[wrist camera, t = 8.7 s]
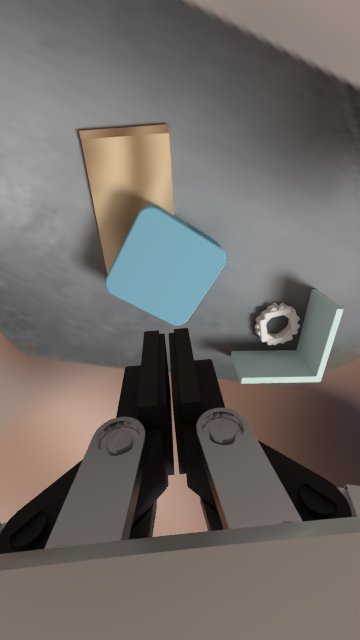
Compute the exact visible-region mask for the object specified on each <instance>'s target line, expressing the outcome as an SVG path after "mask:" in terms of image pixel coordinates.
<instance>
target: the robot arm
mask: <svg viewBox="0 0 360 640" xmlns="http://www.w3.org/2000/svg"><path fill="white" fill-rule="evenodd" d="M169 346H170V364H171V382H172V399H173V411H174V422H175V432H176V442H177V451H178V463H179V473H180V474H185V473H186V474H187V485H188V487H189V488H190V489H192V490H193V491H194V492H195V493H196V494H198V495H199V496H200V503H201V506H202V510H203V514H204V518H205V521H206V525H207V529H208V531H207V532H198V533H188V534H178V535H169V536H160V537H152V536H153V529H154V522H155V515H156V509H157V499H158V497H159V496H160V495H161V494H162V493H163V492H164V491H165V489H166V487H168V475H174V458H173V437H172V417H171V416H172V415H171V395H170V384H169V374H168V364H167V354H166V344H165V334H159V330H158V331H147V332H144V341H143V351H142V361H141V365H139V366H128V367H126V368H125V373H124V378H123V384H122V389H121V394H120V400H119V406H118V411H117V416H116V418H114V419H111V420H109V421H108V422H106V423H104V424H103V425H102V426H101V427H99V428H98V429H97V431H96V432H95V434H94V436H93V438H92V440H91V442H90V445H89V447H88V450H87V452H86V454H85V456H84V458H83V460H82V461H80V462H79V463H78V464H76V465H75V466H74V467H73V468H71V469H70V470H69V471H68V472H66V473H65V474H64V475H63V476H61V477H60V478H59V479H58V480H56V481H55V482H54V483H53V484H52V485H50V486H49V487H48V488H46V489H45V490H44V491H43V492H42V493H40V494H39V495H38V496H36V497H35V498H34V499H33V500H31V501H30V502H29V503H28V504H26V505H25V506H24V507H23V508H22V509H20V510H19V511H18V512H17V513H16V514H15V515H14V516H13V517H12V518H11V519H10V520H9V521H8V522H6V523H3V524H1V523H0V640H360V486H353V485H346V486H345V489H344V488H337V487H336V486H335V485H333V484H332V483H331V482H329V481H328V480H326V479H325V478H323V477H321V476H320V475H318V474H316V473H314V472H312V471H311V470H309V469H307V468H305V467H304V466H302V465H300V464H298V463H297V462H295V461H293V460H292V459H290V458H288V457H286V456H285V455H283V454H281V453H279V452H278V451H276V450H274V449H272V448H271V447H269V446H267V445H265V444H264V443H262V442H260V441H258V440H257V438H256V436H255V435H254V433H253V431H252V429H251V427H250V426H249V424H248V422H247V421H246V419H245V418H244V417H243V416H242V415H241V414H239V413H238V412H236V411H234V410H231V409H227V408H225V406H224V402H223V398H222V395H221V392H220V388H219V384H218V381H217V377H216V373H215V370H214V366H213V363H212V360H211V359H207V360H195V361H194V359H193V353H192V348H191V342H190V337H189V332H188V328H182V329H174V333H169Z"/></svg>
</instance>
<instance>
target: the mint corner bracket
mask: <svg viewBox="0 0 360 640" xmlns="http://www.w3.org/2000/svg"><path fill="white" fill-rule="evenodd" d="M342 313H343V308H342V307H340V306H339V305H338V304H336V303H335V302H334V301H332V300H331V299H330V298H328V297H327V296H326V295H324V294H323V293H321V292H320V291H319V290H317V289H312V291H311V295H310V299H309V303H308V307H307V311H306V315H305V319H304V323H303V327H302V330H301V334H300V338H299V342H298V346H297V350H274V351H232V352H231V358H232V360H233V363H234V366H235V368H236V371H237V374H238V377H239V379H240V382H241V384H242V383H243V384H244V383H291V382H320V381H321V379H322V376H323V373H324V369H325V366H326V363H327V360H328V357H329V354H330V350H331V347H332V344H333V341H334V338H335V335H336V332H337V328H338V325H339V322H340V319H341V316H342ZM281 315H284V316H286V317H287V318H288V325H287V326H286V327H285V328H284V329H283V330H282V331H280V332H279V333H278V334H275V333H269V332H268V331H267V327H266V323H267V322H268V321H269V320H270V319H271V318H273V317H277V316H281ZM255 320H256V322H257V324H256V325H255V329H256V331H255V333H257V334H258V335H259V336H260V340H261V341H262V342H267V345H275V346H276V345H277V343H282V344H284V343H285V342H286V341H290V340H292V339H293V338H292V335H294V334H297V333H298V331H297V329H298V328H299V327H300V325H299V324H298V323H297V322H298V321H299V320H300V318H299V317H298V316H297V315H296V311H295V309H293V307H292V306H288V305H285V304H284V303H283V302H282V303H281V304H280V305H279V306H278V304H277V303H275V302H274V303H273V304H272V305H271V306H267V309H266V310H264V311H262V312H261V314H260V315H259V316H258V317H257V318H256V319H255Z"/></svg>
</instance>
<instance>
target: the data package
mask: <svg viewBox="0 0 360 640" xmlns="http://www.w3.org/2000/svg"><path fill="white" fill-rule="evenodd" d="M225 263H226V254H225V252H224V250H223V249H222V248H221V247H220V245H219V244H218V243H217V242H216V241H214V240H213V239H211V238H209V237H208V236H206V235H205V234H203V233H201V232H200V231H198V230H197V229H195V228H193V227H192V226H190V225H189V224H187V223H185V222H184V221H182V220H181V219H179V218H177V217H176V216H174V215H173V214H171V213H169V212H168V211H166V210H165V209H163V208H161V207H160V206H158V205H156V204H148V205H146V206H144V207H143V208H142V209H141V210H140V212H139V213H138V215H137V217H136V219H135V221H134V223H133V225H132V227H131V229H130V231H129V233H128V235H127V237H126V239H125V241H124V243H123V245H122V247H121V249H120V251H119V253H118V255H117V257H116V259H115V261H114V263H113V265H112V267H111V269H110V271H109V273H108V275H107V277H106V280H105V286H106V289H107V290H108V292H109V293H110V294H112V295H114V296H116V297H118V298H120V299H122V300H124V301H126V302H128V303H130V304H132V305H134V306H136V307H138V308H140V309H142V310H144V311H146V312H148V313H150V314H152V315H154V316H156V317H158V318H160V319H162V320H164V321H166V322H168V323H170V324H172V325H175V326H179V325H182V324H184V323H186V322H187V321H188V319H189V318H190V316H191V315H192V313H193V312H194V310H195V309H196V307H197V306H198V304H199V303H200V301H201V300H202V298H203V297H204V295H205V294H206V292H207V291H208V289H209V288H210V286H211V285H212V283H213V282H214V280H215V279H216V277H217V276H218V274H219V273H220V272H221V270H222V269H223V267H224V265H225Z"/></svg>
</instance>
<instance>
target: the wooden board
mask: <svg viewBox="0 0 360 640" xmlns="http://www.w3.org/2000/svg"><path fill="white" fill-rule="evenodd" d="M79 133H80V138H81V142H82V147H83V152H84V157H85V163H86V168H87V173H88V178H89V183H90V188H91V193H92V198H93V203H94V209H95V214H96V219H97V224H98V229H99V234H100V239H101V244H102V250H103V255H104V260H105V265H106V270H107V275H108V273H109V271H110V269H111V267H112V265H113V263H114V261H115V259H116V257H117V255H118V253H119V251H120V249H121V247H122V245H123V243H124V241H125V239H126V237H127V235H128V233H129V231H130V229H131V227H132V225H133V223H134V221H135V219H136V217H137V215H138V213H139V212H140V210H141V209H142V208H143V207H144V206H146V205H148V204H156V205H158V206H160V207H161V208H163V209H165V210H166V211H168V212H169V213H171V214H173V215H174V216H175V213H174V199H173V185H172V171H171V157H170V143H169V128H168V124H165V125H152V126H138V127H124V128H111V129H97V130H83V131H79Z"/></svg>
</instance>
